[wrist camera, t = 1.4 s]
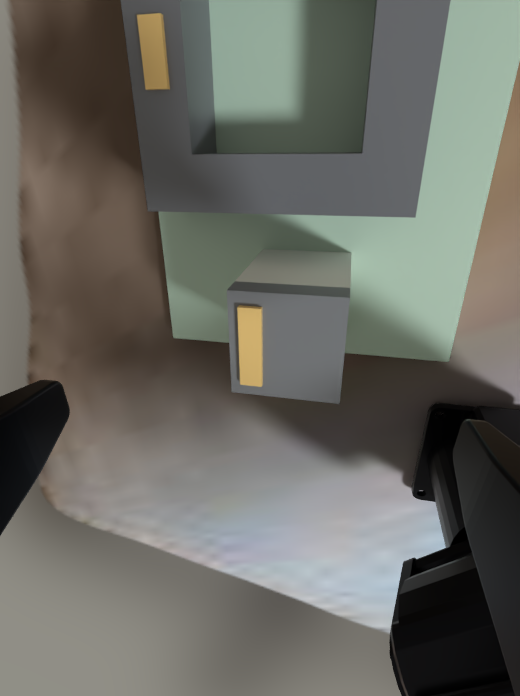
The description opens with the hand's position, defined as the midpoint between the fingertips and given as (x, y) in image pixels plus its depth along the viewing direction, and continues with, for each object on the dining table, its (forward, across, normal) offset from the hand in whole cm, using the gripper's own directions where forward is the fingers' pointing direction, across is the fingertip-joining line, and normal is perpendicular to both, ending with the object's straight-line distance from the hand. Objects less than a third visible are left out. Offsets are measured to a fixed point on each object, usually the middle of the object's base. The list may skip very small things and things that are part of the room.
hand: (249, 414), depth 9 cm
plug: (+11, -1, +2) cm, 11 cm away
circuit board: (+12, -1, -4) cm, 13 cm away
